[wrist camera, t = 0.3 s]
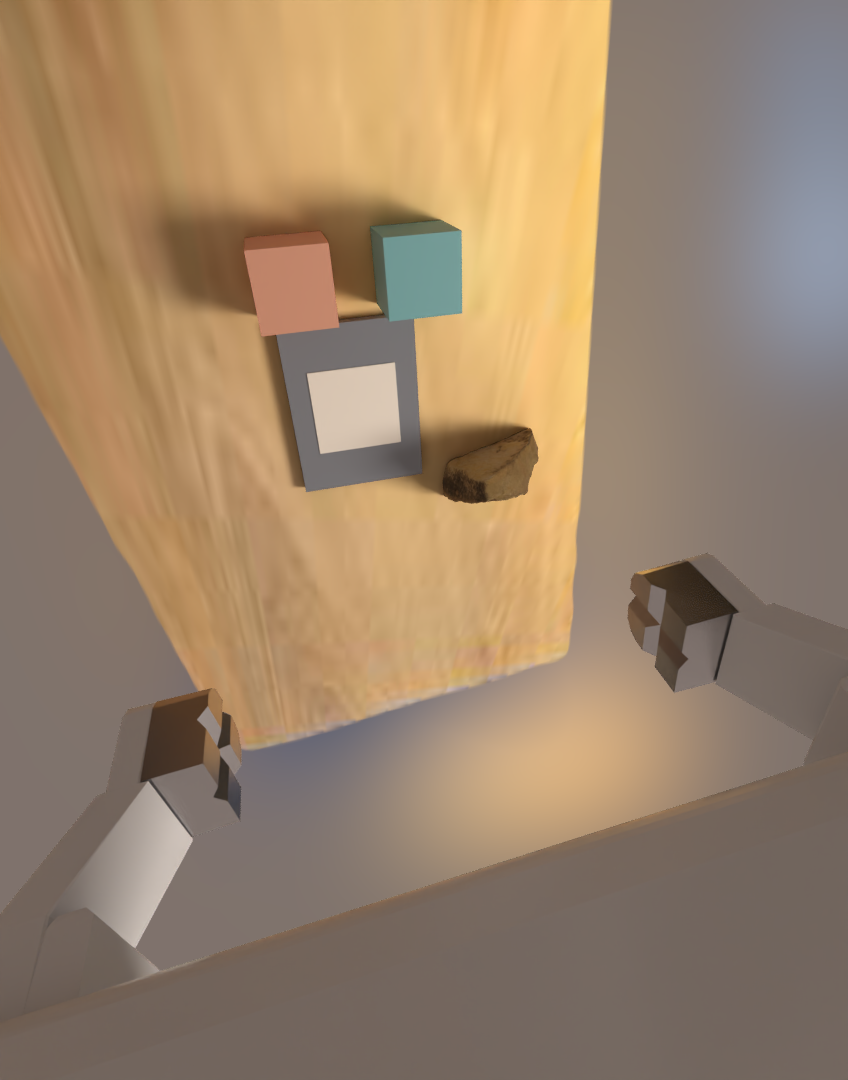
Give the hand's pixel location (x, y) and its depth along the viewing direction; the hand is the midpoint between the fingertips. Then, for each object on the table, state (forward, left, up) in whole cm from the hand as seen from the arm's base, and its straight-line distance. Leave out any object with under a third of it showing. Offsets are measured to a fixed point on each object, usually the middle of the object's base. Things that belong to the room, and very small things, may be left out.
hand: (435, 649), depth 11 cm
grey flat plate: (+14, +3, -46) cm, 48 cm away
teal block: (+2, +9, -46) cm, 47 cm away
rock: (+22, +17, -46) cm, 54 cm away
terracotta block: (+2, -1, -46) cm, 46 cm away
